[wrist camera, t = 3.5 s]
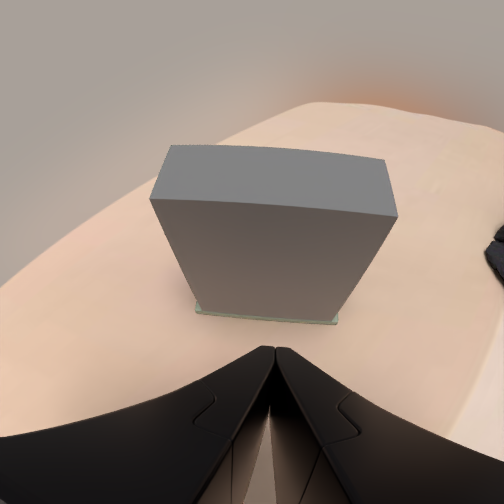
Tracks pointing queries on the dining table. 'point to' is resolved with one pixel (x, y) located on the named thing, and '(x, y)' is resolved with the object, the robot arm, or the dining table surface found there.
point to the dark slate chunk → (497, 252)
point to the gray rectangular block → (273, 226)
